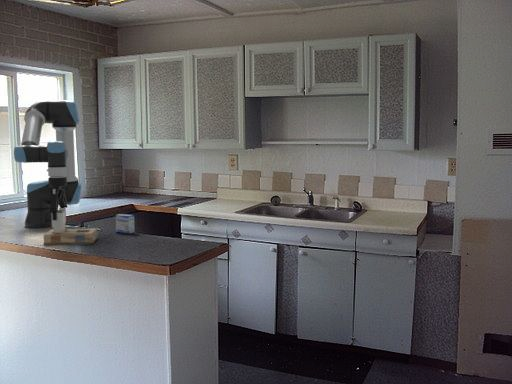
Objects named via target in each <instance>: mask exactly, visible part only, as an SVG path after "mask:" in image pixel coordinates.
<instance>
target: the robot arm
mask: <svg viewBox="0 0 512 384" xmlns="http://www.w3.org/2000/svg"><path fill="white" fill-rule="evenodd" d="M23 117H24V119H23V120H24V122H25V123H24V124H25V125H24V128H23V133H22V138H21V144H20V145H15V146H14V149H13V159H14V161H15V162H16V163H24V164H26V163H27V164H28V163H47V169H46V172H47V173H48V175H47V176H48V180H47V179H46V180H41V181H40V180H38V181H33V182H30V183H28V184H27V186H26V199H27V200H26V202H27V214H26V216H25V220H24V227H25V228H29V229H30V228H31V229H35V228H36V229H38V228H39V229H41V228H49V227H51V229H54V228H59V214H58V210H63V212H65V223H67V212H66V211H67V209H66V208H68V205H69V206H71V205H78V204H79V203H80V201H81V195H82V194H81V193H82V182H80V180H79V178H78V177H77V176H76V164H75V163H76V162H75V161H76V160H75V157H76V156H75V136H74V131H75V130H76V128H77V124H80V118H79V112H78V105H77V103H76V102H75V101H74V100H67V99H65V100H64V99H63V100H59V99H58V100H56V99H55V100H53V99H52V100H50V99H48V100H47V99H43V100H39V101H36V102H35V103H33V104H32V105H30V106H29V108H28V109H27V110H26V111H25V112H24V116H23ZM45 124H51V127H52V128H53V129H54V130H55V141H47V143H46V145H40V142H41V136H42V129H43V126H44V125H45Z"/></svg>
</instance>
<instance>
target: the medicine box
mask: <svg viewBox="0 0 512 384" xmlns="http://www.w3.org/2000/svg"><path fill="white" fill-rule="evenodd" d="M116 232H123V233H122V234H129V233H130V234H133V233H135V214H125V213H124V214H123V213H121V214H120V213H119V214H118V213H117V214H116V215H115V233H116Z"/></svg>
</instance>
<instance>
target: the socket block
mask: <svg viewBox="0 0 512 384" xmlns="http://www.w3.org/2000/svg"><path fill="white" fill-rule="evenodd" d="M97 239H98V228H97V227H96V228H93V227H92V228H65V233H54V228H51V229H50V230H48V231H47V232H46V233H44V234H43V246H61V245H62V246H63V245H65V246H67V245H92V244H94V243H95V241H96V240H97Z"/></svg>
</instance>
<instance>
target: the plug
mask: <svg viewBox="0 0 512 384" xmlns="http://www.w3.org/2000/svg"><path fill="white" fill-rule="evenodd" d="M58 214H59V228H53V229H54V233H65V229H66V222H65V212H63V210H59V209H58Z"/></svg>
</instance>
